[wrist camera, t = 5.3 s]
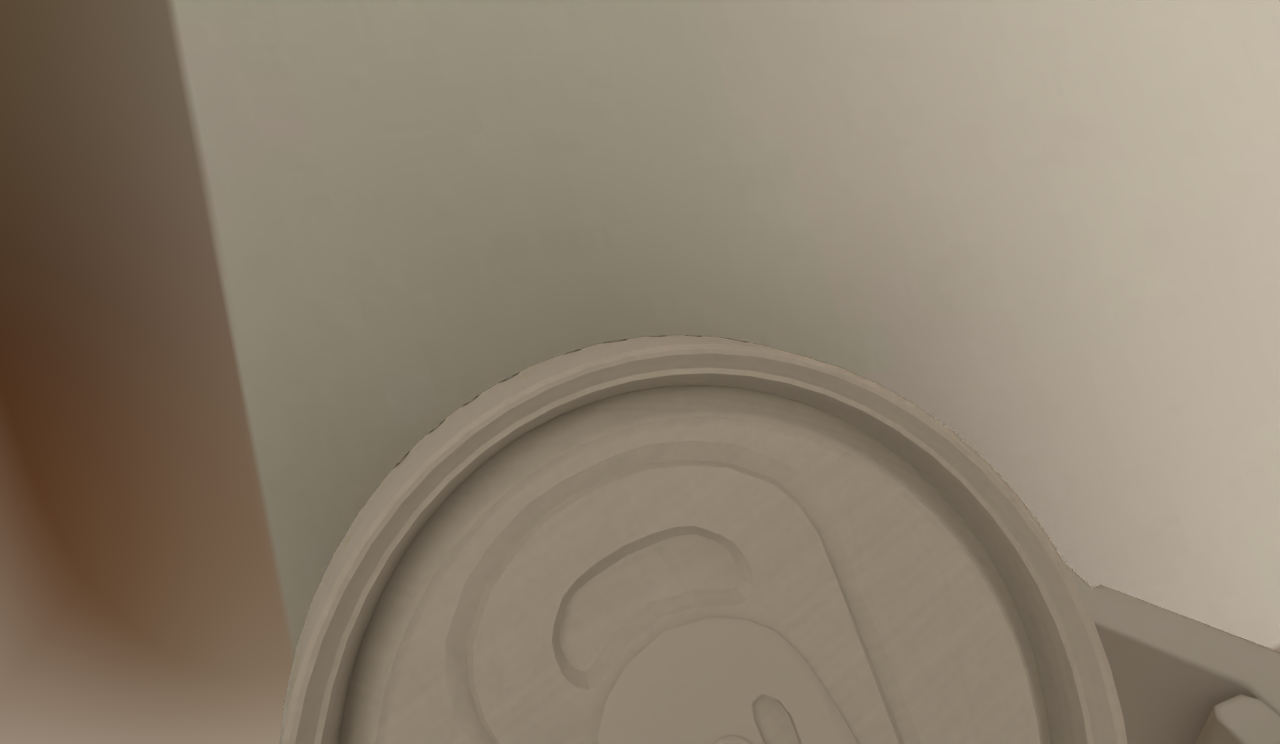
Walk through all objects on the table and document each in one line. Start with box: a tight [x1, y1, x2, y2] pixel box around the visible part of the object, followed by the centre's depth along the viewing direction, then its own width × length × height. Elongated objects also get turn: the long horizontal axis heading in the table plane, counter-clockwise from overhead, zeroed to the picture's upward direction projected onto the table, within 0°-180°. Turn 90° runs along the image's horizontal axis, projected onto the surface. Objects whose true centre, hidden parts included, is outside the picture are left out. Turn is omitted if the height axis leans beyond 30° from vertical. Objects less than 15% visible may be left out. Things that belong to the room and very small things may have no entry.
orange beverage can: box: [280, 335, 1128, 744], centre depth 12 cm, size 6×6×15 cm
